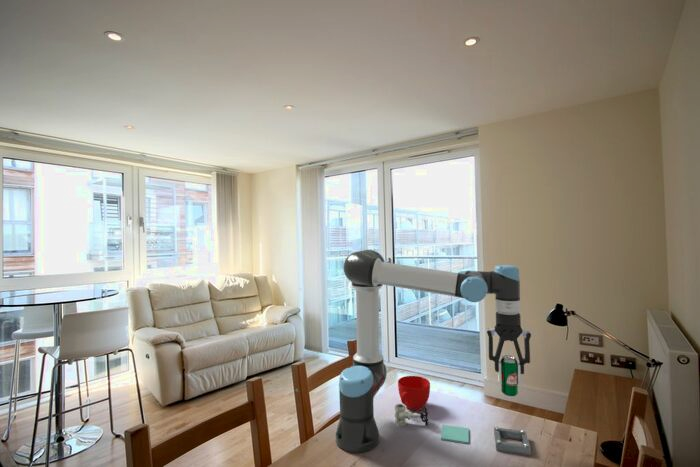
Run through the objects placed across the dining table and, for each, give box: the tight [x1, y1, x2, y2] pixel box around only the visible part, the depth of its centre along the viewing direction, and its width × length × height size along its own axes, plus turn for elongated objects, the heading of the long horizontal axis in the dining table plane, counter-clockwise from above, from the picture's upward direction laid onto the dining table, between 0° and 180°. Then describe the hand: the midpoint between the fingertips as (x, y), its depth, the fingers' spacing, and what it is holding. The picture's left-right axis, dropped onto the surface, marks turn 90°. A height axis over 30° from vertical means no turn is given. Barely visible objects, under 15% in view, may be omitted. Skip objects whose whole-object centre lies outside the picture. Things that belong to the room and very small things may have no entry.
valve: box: [394, 403, 429, 427], centre depth 133 cm, size 7×7×12 cm
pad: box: [440, 424, 470, 445], centre depth 125 cm, size 9×9×1 cm
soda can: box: [500, 354, 519, 397], centre depth 119 cm, size 5×5×12 cm
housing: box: [493, 426, 532, 457], centre depth 119 cm, size 10×10×3 cm
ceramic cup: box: [397, 375, 431, 411], centre depth 145 cm, size 13×17×10 cm
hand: (509, 382), depth 119 cm, fingers closed on soda can, 5 cm apart
